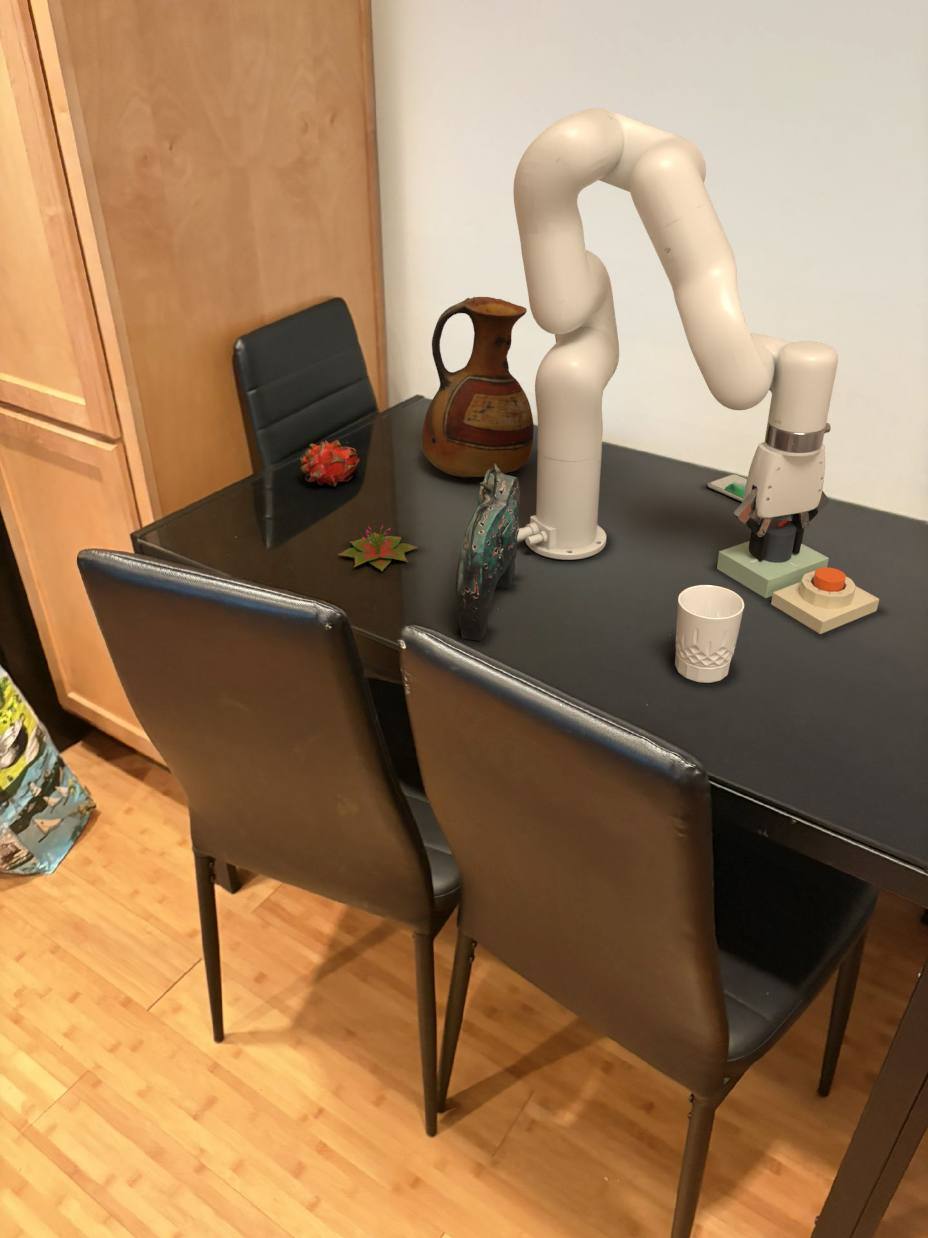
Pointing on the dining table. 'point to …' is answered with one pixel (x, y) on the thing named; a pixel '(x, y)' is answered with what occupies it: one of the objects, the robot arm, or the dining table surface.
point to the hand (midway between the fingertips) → (774, 551)
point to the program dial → (780, 540)
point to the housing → (824, 604)
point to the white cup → (707, 632)
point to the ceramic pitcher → (479, 398)
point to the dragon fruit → (329, 463)
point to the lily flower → (378, 549)
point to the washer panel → (768, 568)
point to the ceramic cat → (487, 552)
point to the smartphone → (730, 486)
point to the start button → (829, 579)
